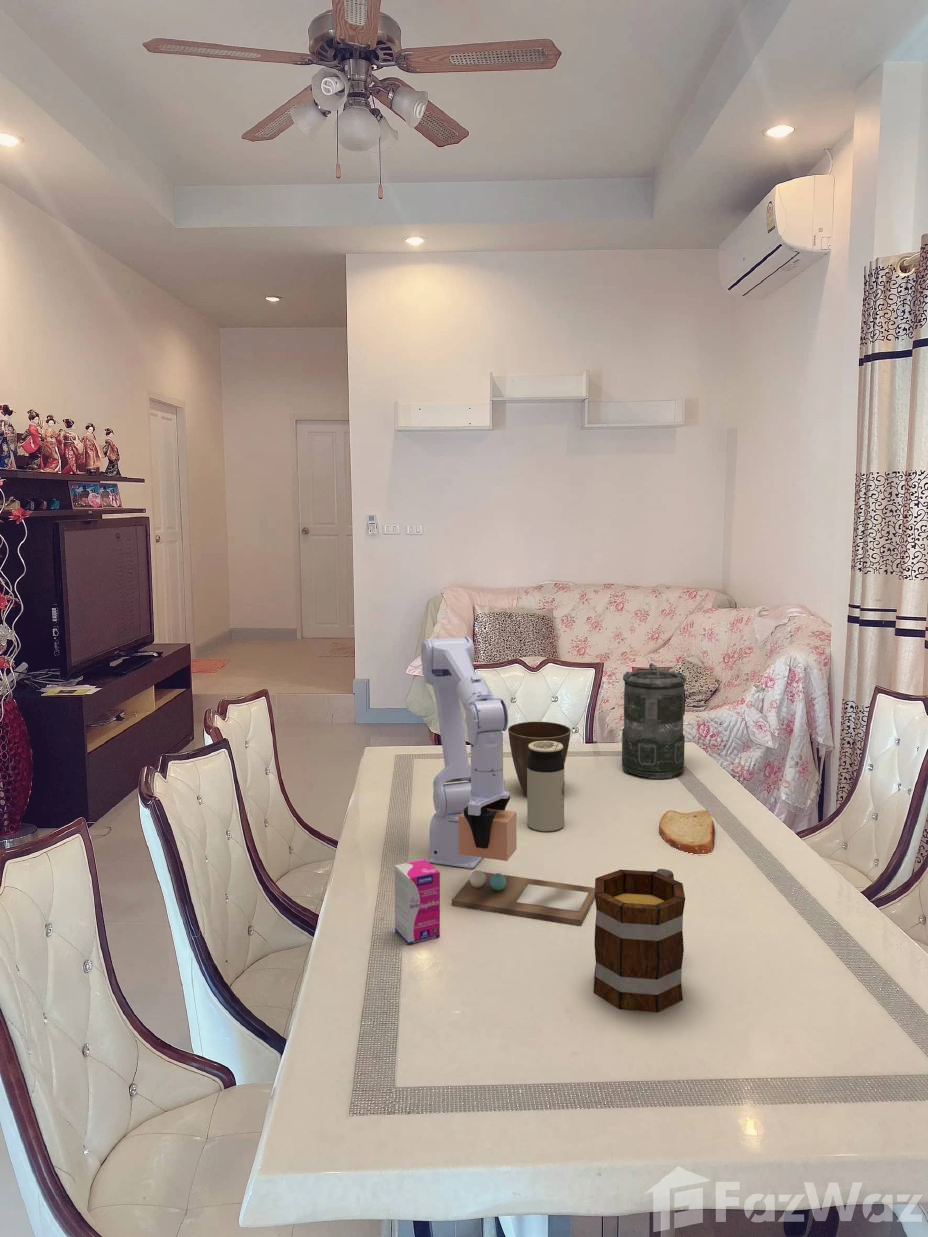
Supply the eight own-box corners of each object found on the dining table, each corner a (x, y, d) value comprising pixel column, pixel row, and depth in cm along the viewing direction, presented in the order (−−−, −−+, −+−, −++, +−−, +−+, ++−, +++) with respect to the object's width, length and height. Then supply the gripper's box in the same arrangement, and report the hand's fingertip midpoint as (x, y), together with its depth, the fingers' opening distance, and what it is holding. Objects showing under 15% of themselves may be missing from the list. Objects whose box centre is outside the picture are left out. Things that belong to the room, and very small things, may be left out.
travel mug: (522, 829, 191) (522, 748, 188) (533, 817, 198) (533, 738, 196) (558, 834, 188) (558, 751, 185) (568, 821, 195) (568, 742, 193)
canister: (614, 763, 238) (615, 660, 234) (671, 760, 240) (673, 658, 236) (631, 781, 222) (633, 671, 219) (693, 778, 224) (695, 669, 220)
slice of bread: (699, 860, 175) (700, 842, 174) (630, 833, 189) (630, 816, 188) (754, 838, 185) (754, 821, 185) (685, 815, 200) (685, 798, 199)
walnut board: (451, 905, 155) (451, 899, 155) (476, 876, 167) (476, 870, 167) (580, 926, 147) (580, 919, 147) (597, 893, 159) (597, 887, 159)
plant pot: (580, 790, 216) (581, 726, 214) (553, 808, 204) (553, 740, 201) (526, 780, 224) (526, 718, 222) (496, 797, 212) (496, 732, 209)
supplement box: (408, 946, 141) (407, 877, 140) (394, 931, 146) (392, 864, 145) (441, 938, 144) (440, 870, 142) (426, 923, 149) (425, 857, 147)
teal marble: (487, 892, 158) (487, 876, 158) (492, 885, 161) (492, 869, 160) (503, 894, 157) (503, 878, 157) (508, 887, 160) (508, 871, 159)
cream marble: (467, 889, 159) (467, 873, 159) (472, 882, 162) (472, 866, 162) (483, 891, 158) (482, 875, 158) (488, 884, 161) (488, 869, 161)
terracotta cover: (458, 854, 158) (458, 816, 157) (469, 843, 163) (469, 806, 162) (507, 861, 154) (507, 822, 154) (516, 849, 160) (516, 811, 159)
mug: (666, 1024, 119) (668, 918, 118) (575, 995, 127) (575, 895, 125) (710, 960, 136) (712, 866, 134) (626, 938, 143) (628, 848, 141)
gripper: (495, 781, 148) (496, 859, 150) (520, 758, 162) (520, 829, 164) (456, 777, 151) (457, 854, 153) (484, 754, 164) (484, 825, 166)
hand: (487, 841), depth 158 cm, fingers closed on terracotta cover, 6 cm apart
